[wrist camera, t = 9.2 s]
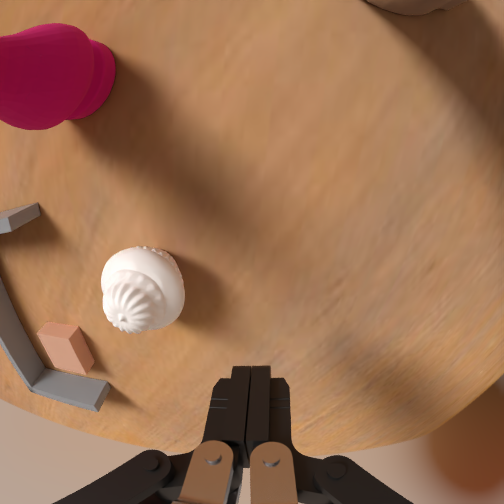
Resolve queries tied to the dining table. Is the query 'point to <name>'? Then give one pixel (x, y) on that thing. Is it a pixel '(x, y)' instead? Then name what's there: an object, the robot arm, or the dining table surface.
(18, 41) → the pepper mill
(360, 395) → the dining table surface
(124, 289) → the white rounded ceramic piece
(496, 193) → the dining table surface
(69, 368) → the block
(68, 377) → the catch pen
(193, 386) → the dining table surface
